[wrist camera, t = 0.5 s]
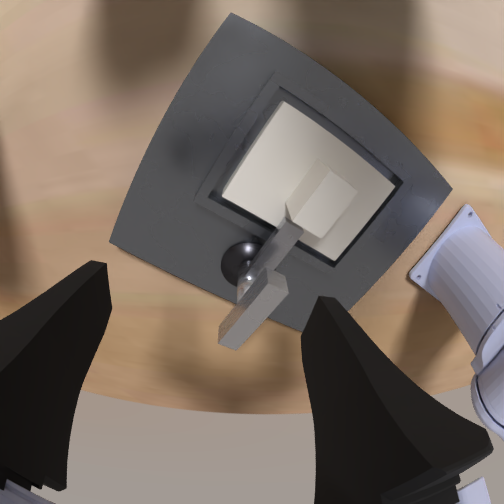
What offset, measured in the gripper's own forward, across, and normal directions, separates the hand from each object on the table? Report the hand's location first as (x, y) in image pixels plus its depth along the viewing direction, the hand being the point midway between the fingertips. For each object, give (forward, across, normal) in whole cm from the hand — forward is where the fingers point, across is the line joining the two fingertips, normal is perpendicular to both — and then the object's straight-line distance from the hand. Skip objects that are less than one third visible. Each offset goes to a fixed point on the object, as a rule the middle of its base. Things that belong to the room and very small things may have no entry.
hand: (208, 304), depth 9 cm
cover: (+9, -5, -2) cm, 10 cm away
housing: (+10, -4, 0) cm, 11 cm away
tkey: (+8, -3, +3) cm, 9 cm away
